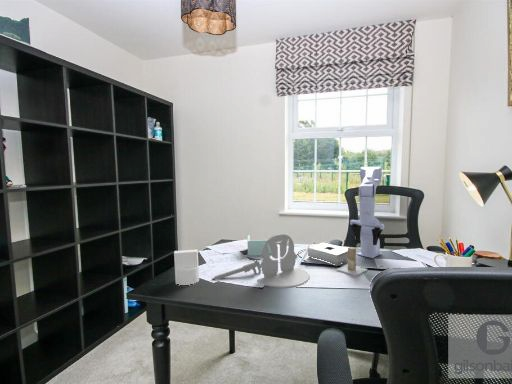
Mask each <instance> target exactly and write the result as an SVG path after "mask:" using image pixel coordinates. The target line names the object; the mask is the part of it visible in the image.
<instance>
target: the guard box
mask: <svg viewBox="0 0 512 384" xmlns="http://www.w3.org/2000/svg"><path fill="white" fill-rule="evenodd" d="M348 248H349V247H345V246H339V245H335V244H331V243H327V242H320V243H318V244H315V245H312V246H309V247H307V257H308V256H310V257H313V258H317V259H321V260H324V261H327V262H330V263H332V264H335V265H334V266H335V267H338V265H339V264H341V263H343V264H345V263H344V262H346V261H348ZM346 263H347V262H346ZM341 265H342V264H341ZM339 266H340V265H339Z"/></svg>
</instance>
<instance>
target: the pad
mask: <svg viewBox="0 0 512 384" xmlns="http://www.w3.org/2000/svg"><path fill="white" fill-rule="evenodd" d="M367 271H368V268H364V267H361V266H357V265H356V270H354V271H352V270H348V263H347V264H343V266H342V265H341V266H340V267H338V268H336V272H340V273H344V274H347V275H349V276H353V277H358V276H360V275H362V274H364V273H366V272H367Z"/></svg>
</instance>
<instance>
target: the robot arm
mask: <svg viewBox="0 0 512 384" xmlns="http://www.w3.org/2000/svg"><path fill="white" fill-rule="evenodd" d="M382 174H383V172H382V167H381V166H361V167H360V170H359V176H360V178H359V179H360V183H361V184H360V185H359V186H358V198H359V199H358V202H359V219H358V220H357V219H350V221H349V225H351V226H350V229H351V231H352V232H353V234H354V238H355V241H356V242H357V243H359V242H360V252H359V251H358V252H356V256H357V255H358V256H361V257H362V256H363V257H366V258H371V259H373V258H376V257H378V256H380V255H382V252H380V251H381V249H380V248H381V243H380V242H381V240H380V236H381V234H382V232H383V230H385V224H384V223H381V221H380V220H379V219H378V218H377V217H375V208H376V207H375V204H376V203H375V202H376V189H377V187H378V186H380V185H381V183H382Z"/></svg>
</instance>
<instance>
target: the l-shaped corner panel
mask: <svg viewBox="0 0 512 384" xmlns="http://www.w3.org/2000/svg"><path fill="white" fill-rule="evenodd" d="M267 240H268V239H258V240H257V239H252V240H251V234H247V240H246V241H247V256H248V257H249V256H250V257H252V256H262V253H263V248H264V245H265V243H266V242H267ZM267 246H268V252H269V256H272V255H271V249H270V245H269V244H267Z"/></svg>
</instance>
